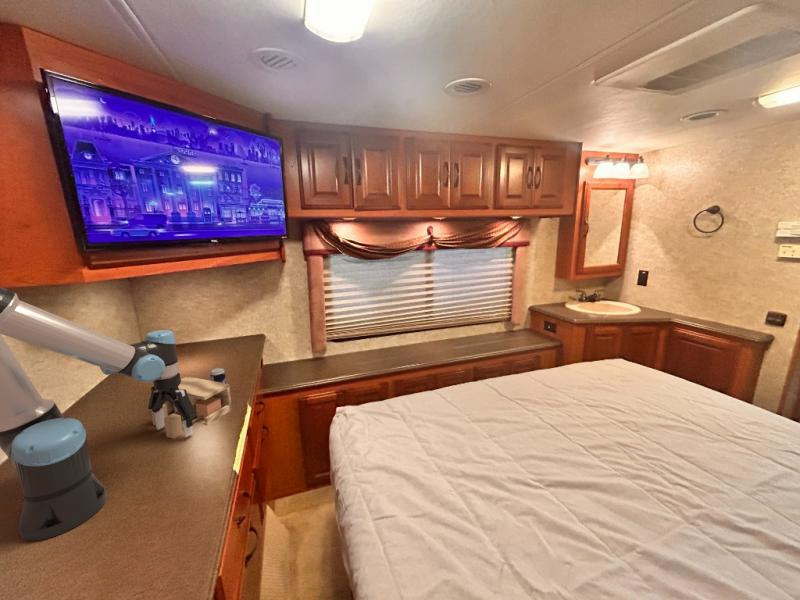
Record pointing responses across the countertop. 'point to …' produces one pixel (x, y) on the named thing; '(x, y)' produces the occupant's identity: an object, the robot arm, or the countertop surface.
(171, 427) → the tether block terracotta
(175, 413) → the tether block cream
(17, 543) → the countertop surface
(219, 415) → the shelf
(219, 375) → the beverage can
